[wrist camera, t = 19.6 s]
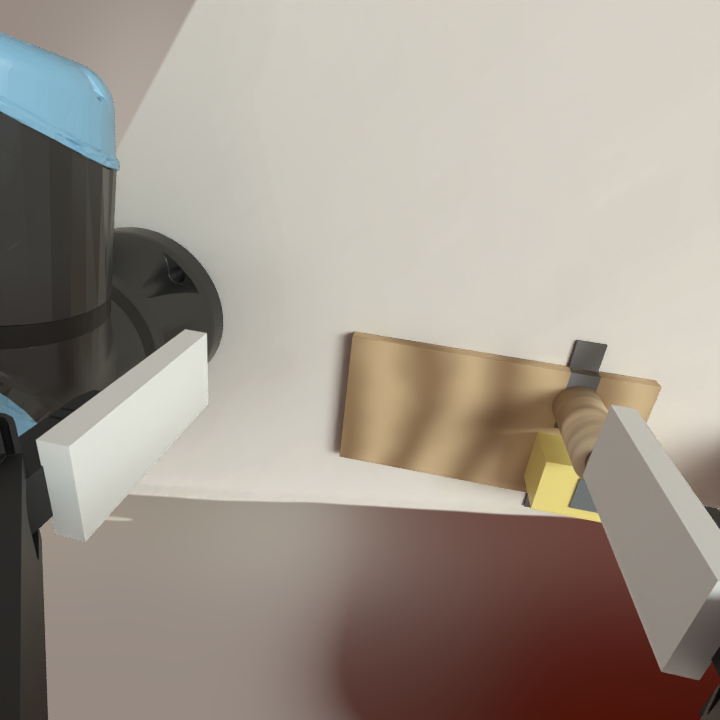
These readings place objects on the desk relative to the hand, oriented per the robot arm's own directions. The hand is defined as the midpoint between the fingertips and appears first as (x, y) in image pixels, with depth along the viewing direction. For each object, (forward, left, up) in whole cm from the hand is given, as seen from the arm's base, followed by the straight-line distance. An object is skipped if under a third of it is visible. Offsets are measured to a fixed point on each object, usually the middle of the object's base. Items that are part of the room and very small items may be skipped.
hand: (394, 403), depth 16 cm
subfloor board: (+8, -15, -27) cm, 31 cm away
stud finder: (+16, -17, -25) cm, 35 cm away
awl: (+15, -12, -25) cm, 32 cm away
